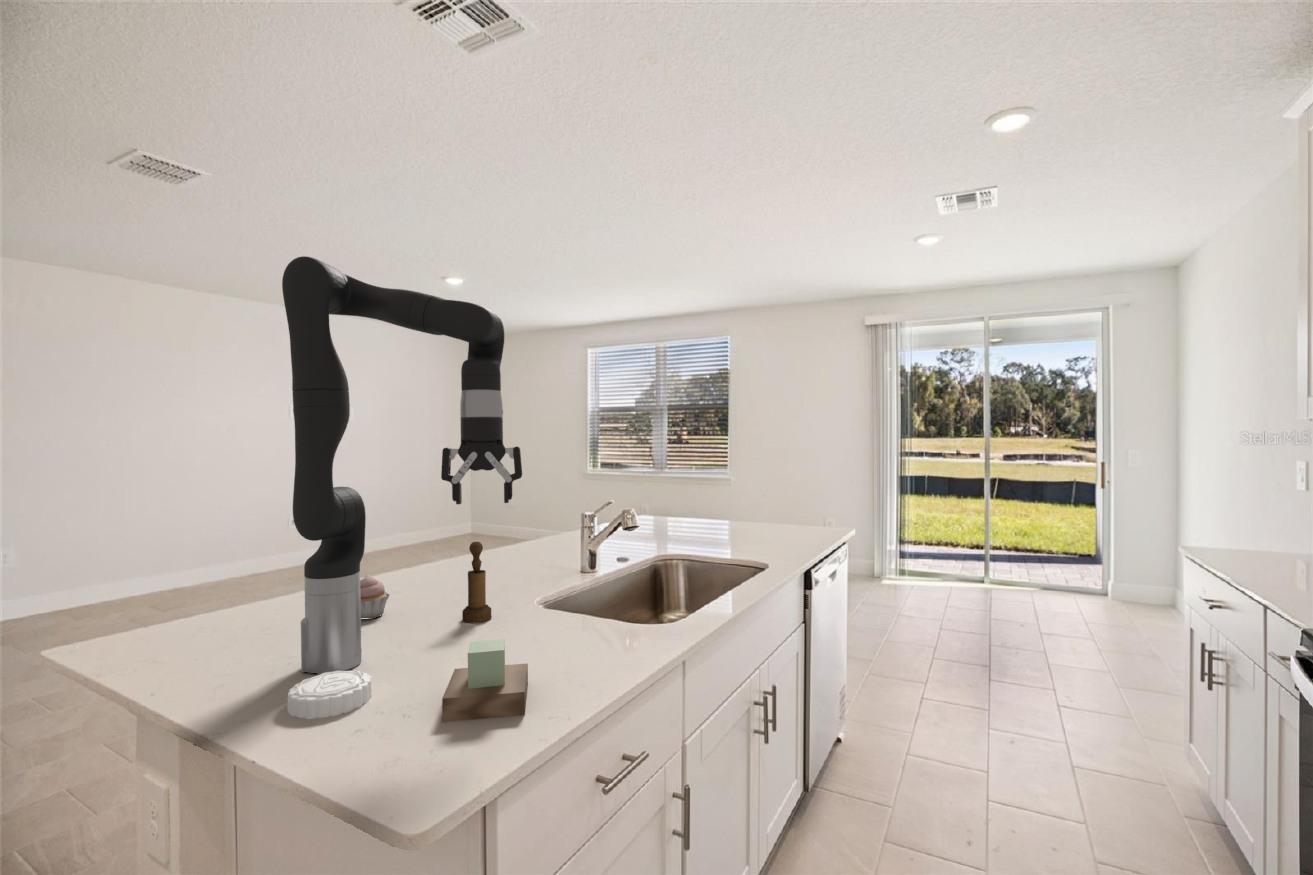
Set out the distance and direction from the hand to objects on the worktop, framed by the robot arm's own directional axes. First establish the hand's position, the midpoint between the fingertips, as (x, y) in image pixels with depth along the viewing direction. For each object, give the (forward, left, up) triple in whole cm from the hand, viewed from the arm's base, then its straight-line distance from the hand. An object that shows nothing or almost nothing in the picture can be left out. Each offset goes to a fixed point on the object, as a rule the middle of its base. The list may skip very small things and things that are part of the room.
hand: (483, 503), depth 114 cm
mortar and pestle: (-5, +31, -30) cm, 44 cm away
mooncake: (-23, -11, -31) cm, 40 cm away
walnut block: (+2, -16, -31) cm, 35 cm away
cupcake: (-31, +39, -30) cm, 58 cm away
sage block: (+2, -16, -27) cm, 31 cm away
